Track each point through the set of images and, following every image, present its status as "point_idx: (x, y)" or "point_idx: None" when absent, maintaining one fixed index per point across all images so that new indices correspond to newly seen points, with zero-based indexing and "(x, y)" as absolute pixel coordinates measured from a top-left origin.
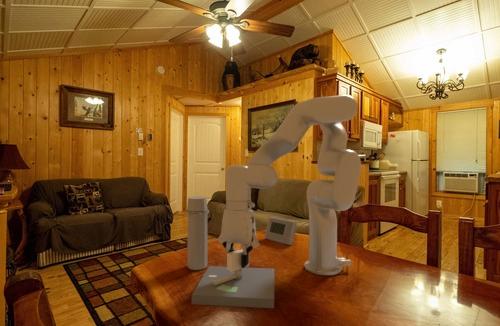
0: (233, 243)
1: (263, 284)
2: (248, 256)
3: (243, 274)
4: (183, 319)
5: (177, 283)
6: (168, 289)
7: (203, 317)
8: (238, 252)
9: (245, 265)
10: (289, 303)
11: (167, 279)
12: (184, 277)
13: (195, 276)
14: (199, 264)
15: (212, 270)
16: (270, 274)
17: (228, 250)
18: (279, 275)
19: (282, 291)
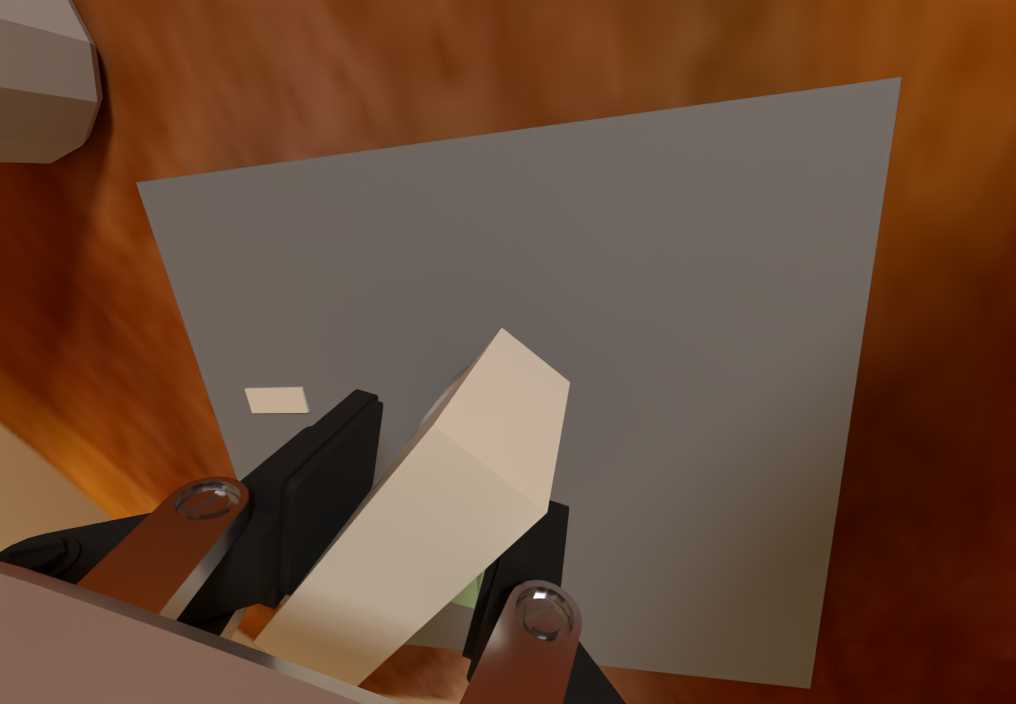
0: (178, 613)
1: (730, 505)
2: (561, 574)
3: (515, 329)
4: None
5: (111, 385)
6: (122, 459)
7: (422, 677)
8: (392, 624)
9: None
10: (912, 579)
11: (23, 340)
12: (87, 293)
13: (139, 262)
14: (34, 143)
15: (216, 283)
16: (819, 285)
17: (227, 609)
18: (924, 54)
19: (888, 424)
